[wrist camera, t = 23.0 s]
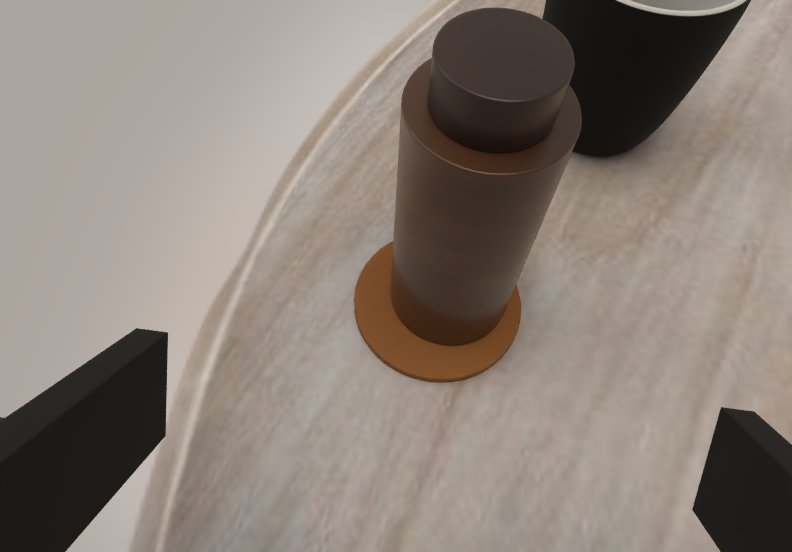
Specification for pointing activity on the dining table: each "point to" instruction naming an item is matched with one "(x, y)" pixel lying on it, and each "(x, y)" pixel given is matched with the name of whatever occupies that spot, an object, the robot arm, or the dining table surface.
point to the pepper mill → (478, 168)
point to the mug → (637, 61)
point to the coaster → (410, 349)
